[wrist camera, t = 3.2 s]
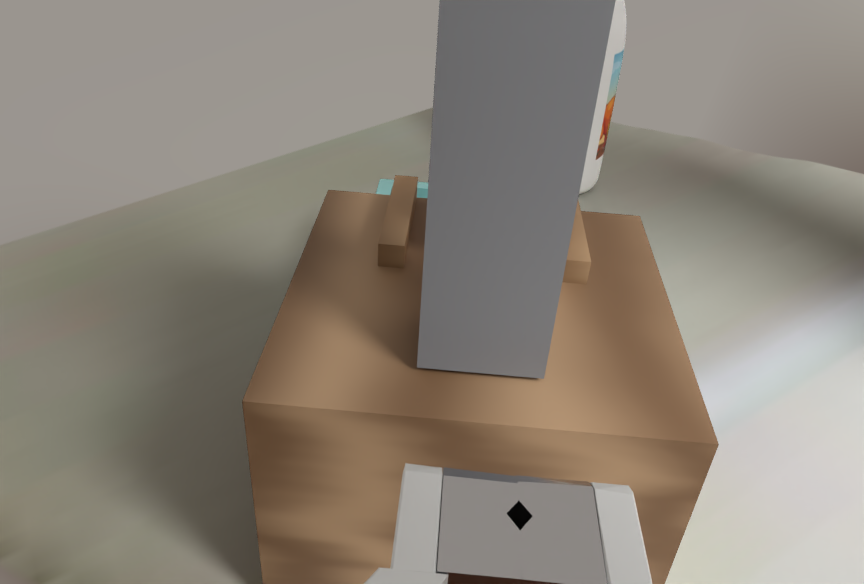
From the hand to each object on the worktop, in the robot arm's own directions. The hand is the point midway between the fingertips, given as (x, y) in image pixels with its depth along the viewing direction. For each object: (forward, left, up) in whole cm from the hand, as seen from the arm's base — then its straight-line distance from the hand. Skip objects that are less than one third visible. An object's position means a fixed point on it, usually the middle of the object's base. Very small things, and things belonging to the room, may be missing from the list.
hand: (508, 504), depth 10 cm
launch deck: (0, -16, -17) cm, 24 cm away
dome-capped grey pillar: (0, -13, -7) cm, 15 cm away
